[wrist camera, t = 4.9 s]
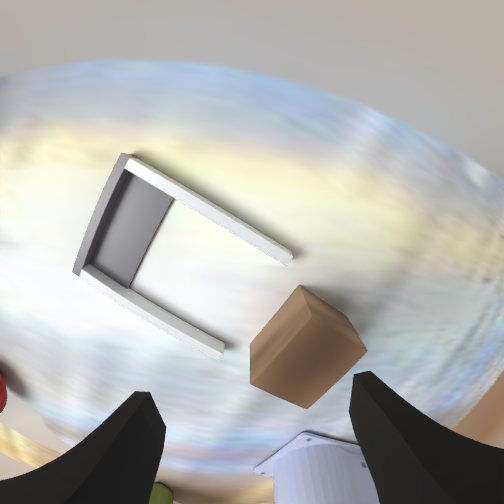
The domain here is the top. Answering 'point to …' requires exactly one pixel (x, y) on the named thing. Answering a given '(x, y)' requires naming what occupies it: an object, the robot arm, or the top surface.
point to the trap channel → (139, 237)
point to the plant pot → (160, 495)
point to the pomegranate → (2, 393)
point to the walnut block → (303, 350)
